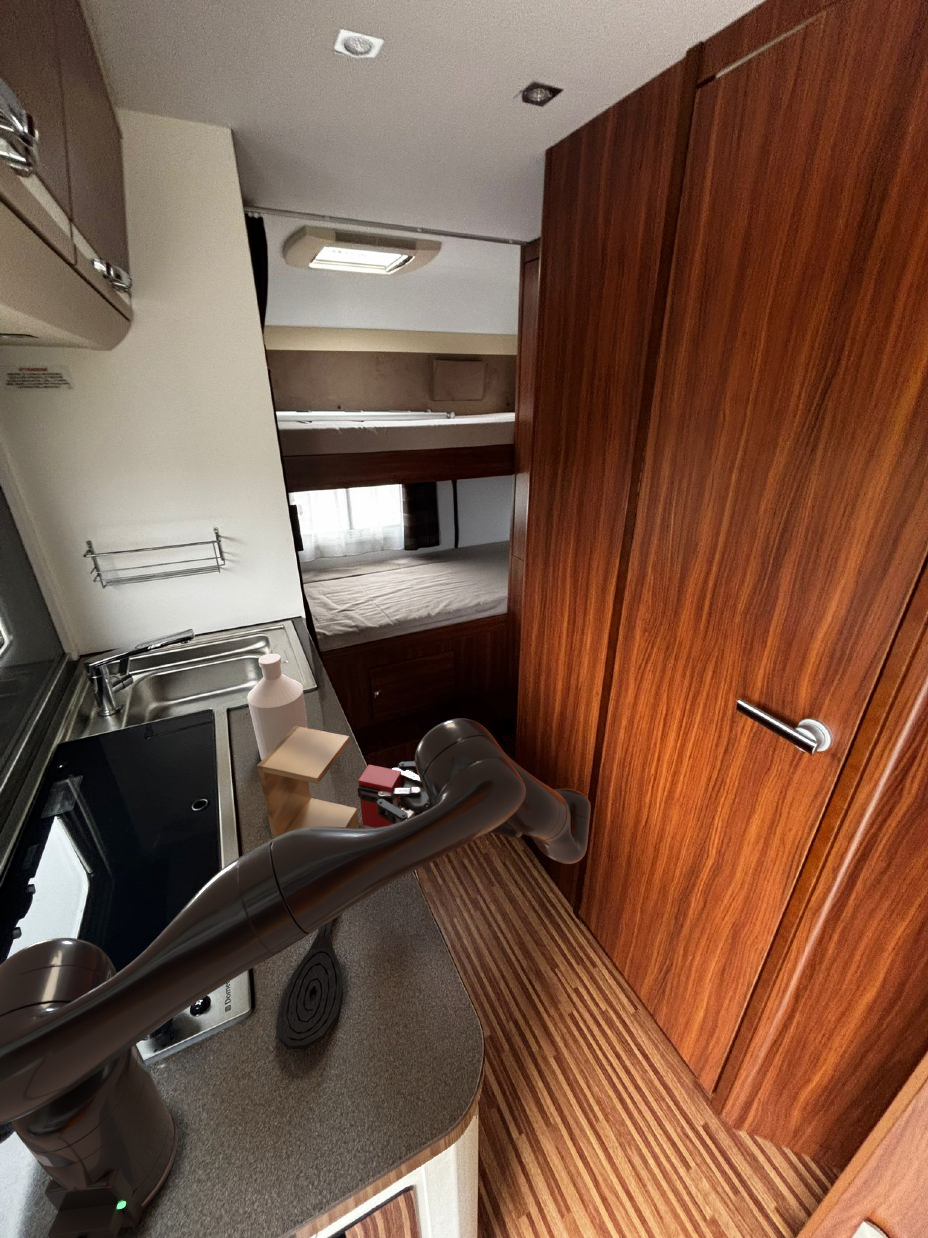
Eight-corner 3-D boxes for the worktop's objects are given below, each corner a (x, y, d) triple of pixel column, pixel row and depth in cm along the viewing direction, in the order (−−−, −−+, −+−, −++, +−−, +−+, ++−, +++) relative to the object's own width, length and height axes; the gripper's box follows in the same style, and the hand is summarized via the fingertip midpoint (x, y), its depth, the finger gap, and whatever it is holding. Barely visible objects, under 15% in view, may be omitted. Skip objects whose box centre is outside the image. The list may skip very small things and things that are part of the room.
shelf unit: (331, 875, 87) (317, 778, 78) (277, 860, 90) (257, 765, 81) (359, 827, 97) (349, 736, 88) (309, 815, 99) (294, 725, 90)
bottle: (257, 741, 120) (238, 651, 110) (307, 729, 125) (294, 642, 114) (261, 772, 110) (241, 677, 100) (315, 758, 115) (301, 665, 105)
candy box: (372, 808, 88) (368, 764, 84) (403, 815, 87) (401, 771, 83) (362, 825, 85) (358, 780, 81) (394, 832, 84) (391, 787, 79)
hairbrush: (360, 871, 85) (329, 1041, 61) (362, 887, 86) (331, 1058, 63) (312, 873, 84) (261, 1043, 61) (314, 888, 86) (266, 1061, 62)
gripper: (473, 755, 84) (380, 738, 88) (449, 818, 71) (342, 794, 76) (472, 789, 87) (383, 770, 91) (449, 855, 75) (347, 830, 79)
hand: (365, 781), depth 83 cm, fingers closed on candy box, 4 cm apart
